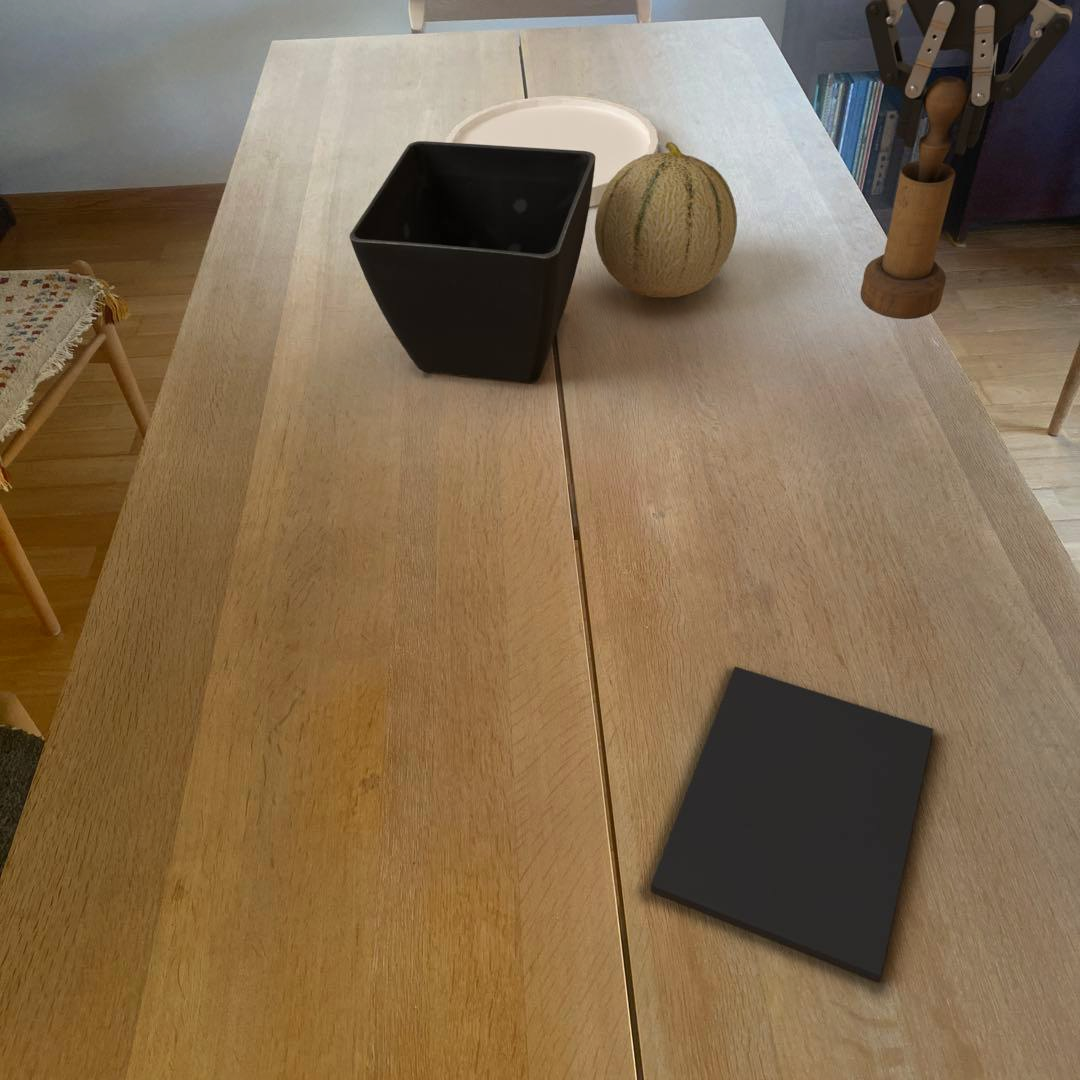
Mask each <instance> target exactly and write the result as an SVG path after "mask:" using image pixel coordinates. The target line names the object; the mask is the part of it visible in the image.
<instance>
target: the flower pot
mask: <svg viewBox="0 0 1080 1080" xmlns="http://www.w3.org/2000/svg"><path fill="white" fill-rule="evenodd" d="M594 169H595V155H594V154H593V153H591V152H587V151H576V150H561V149H545V148H529V147H512V146H496V145H480V144H464V143H446V142H445V141H444V142H443V141H431V140H430V141H427V140H418V141H413V142H411V143H409V144H408V145H407V146H406V148H405V149H404V151H403V152H402V154H401V155H400V157H399V158H398V160H397V161H396V163H395V164H394V166H393V168H392V169H391V171H390V172H389V173H388V175H387V177H386V178H385V180H384V182H383V183H382V184H381V186H380V188H379V190H378V191H377V192H376V194H375V195H374V197H373V199H372V200H371V202H370V203H369V205H368V206H367V208H366V209H365V210H364V212H363V214H362V215H361V217H360V218H359V219H358V221H357V222H356V223H355V225H354V227H353V229H352V230H351V232H350V233H349V236H348V238H349V240H350V243H351V247H352V249H353V252H354V254H355V257H356V259H357V262H358V264H359V266H360V268H361V270H362V273H363V276H364V278H365V280H366V282H367V284H368V288H369V289H370V291H371V293H372V296H373V297H374V299H375V302H376V303H377V305H378V308H379V309H380V311H381V313H382V315H383V316H384V319H385V320H386V322H387V324H388V325H389V328H390V329H391V330H392V332H393V334H394V335H395V337H396V339H397V340H398V342H399V343H400V345H401V346H402V348H403V349H404V350H405V352H406V353H407V355H408V356H409V358H410V359H411V362H413V363H414V365H415V367H416V368H417V369H419V370H420V371H421V372H423V373H424V372H425V373H430V374H431V373H433V374H441V375H451V376H459V377H468V378H475V379H488V380H496V381H504V382H505V381H506V382H516V383H522V384H523V383H524V384H532V383H535V382H537V381H538V380H539V379H540V378H541V377H542V374H543V371H544V368H545V365H546V363H547V360H548V357H549V354H550V352H551V350H552V349H551V348H552V346H553V343H554V340H555V338H556V335H557V333H558V329H559V327H560V324H561V321H562V318H563V316H564V312H565V310H566V308H567V307H566V306H567V304H568V300H569V297H570V294H571V290H572V286H573V283H574V279H575V276H576V271H577V267H578V264H579V260H580V255H581V251H582V246H583V242H584V239H585V233H586V228H587V223H588V222H587V221H588V218H589V217H588V216H589V211H590V207H589V205H590V199H591V192H592V185H593V178H594Z"/></svg>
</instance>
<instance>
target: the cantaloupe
mask: <svg viewBox="0 0 1080 1080" xmlns="http://www.w3.org/2000/svg"><path fill="white" fill-rule="evenodd" d="M665 148H666V149H667V150H668V151H669V152H660V151H658V153H654V154H649V155H647V154H645V155H644V156H642V157H640V158H638V159H635V160H633V161H632V162H630V163H628V164H627V165H626V166H624V167H623V168H622V169H621V170H620V171H618V173H617V174H616V175H615V176H614V177H613V178H612V179H611V180H610V182H609V183H608V185H607V186H606V189H605V191H604V193H603V195H602V197H601V200H600V203H599V205H597V210H596V215H595V220H594V221H595V222H594V234H595V237H594V239H595V243H596V249H597V252H598V255H599V258H600V260H601V263H602V265H603V266H604V267H605V268H606V270H607V272H608V274H610V275H611V277H612V278H613V279H614V280H615V281H616V282H617V283H618V284H619V285H621V286H622V287H623V288H625V289H627V290H628V291H630V292H631V293H634V294H638V295H642V296H647V297H651V298H677V297H678V298H679V297H682V296H687V295H690V294H692V293H694V292H697V291H699V290H701V289H702V288H703V287H706V286H707V285H708V284H709V283H710V282H711V281H712V280H713V279H715V277H716V276H717V275H718V273H719V272H720V270H721V269H722V268H723V266H724V264H725V263H726V262H727V260H728V258H729V255H730V253H731V252H732V249H733V246H734V243H735V238H736V234H737V227H738V213H737V206H736V204H735V198H734V196H733V194H732V193H733V192H732V191H731V188H730V186H729V184H728V182H727V181H726V179H725V178H724V176H723V175H722V174H721V173H720V172H719V170H717V169H716V168H715V167H713V165H711V164H709V163H707V162H706V161H704V160H702V159H699V158H698V157H696V156H693V155H686V154H684V153H683V152H682V151H681V150H680V149H679V146H678V145H676V143H674V142H672V141H666V142H665Z"/></svg>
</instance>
